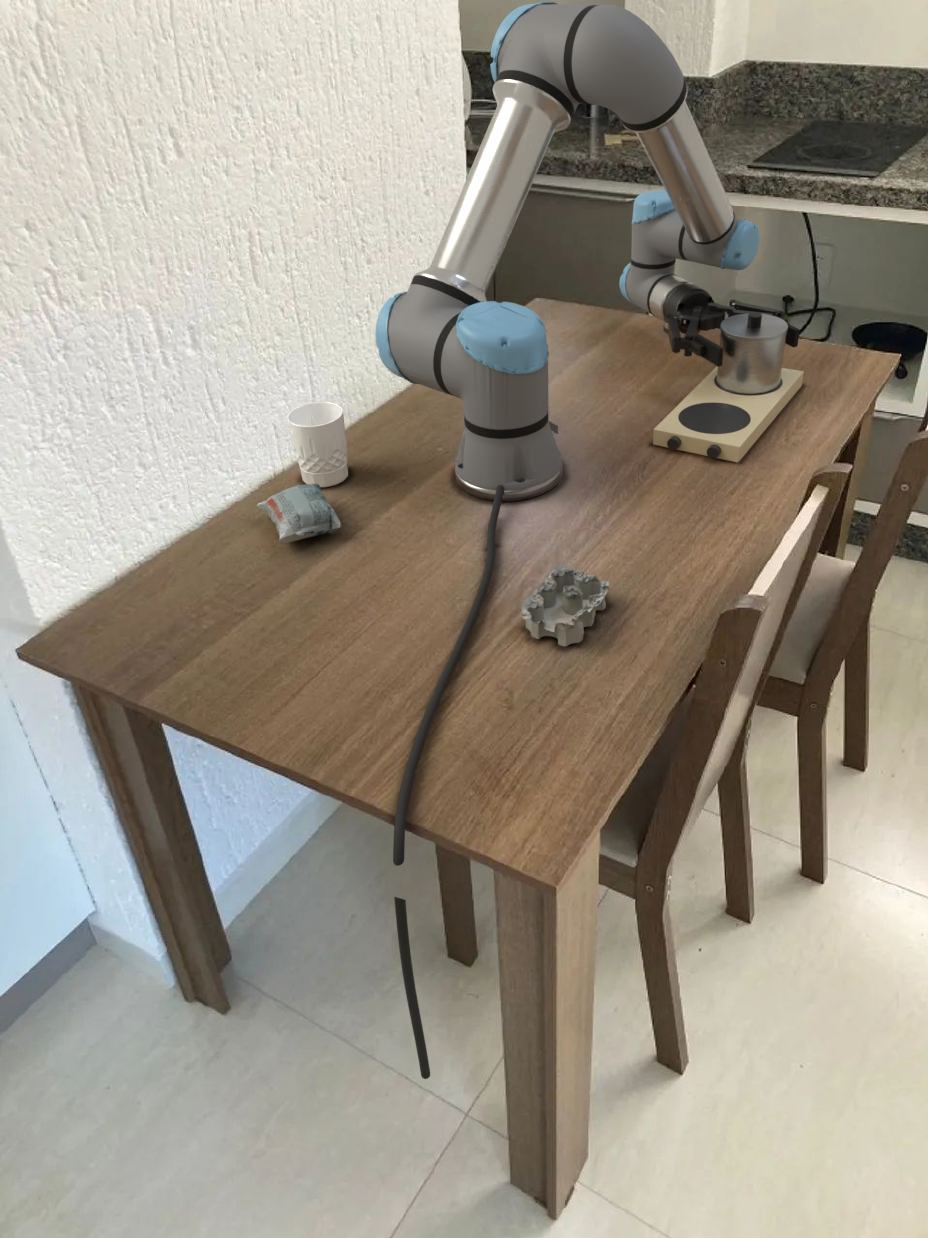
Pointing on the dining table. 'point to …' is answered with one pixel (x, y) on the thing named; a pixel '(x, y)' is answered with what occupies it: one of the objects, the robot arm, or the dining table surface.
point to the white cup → (319, 442)
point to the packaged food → (300, 513)
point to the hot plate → (724, 418)
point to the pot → (751, 353)
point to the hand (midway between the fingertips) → (759, 347)
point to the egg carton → (564, 605)
